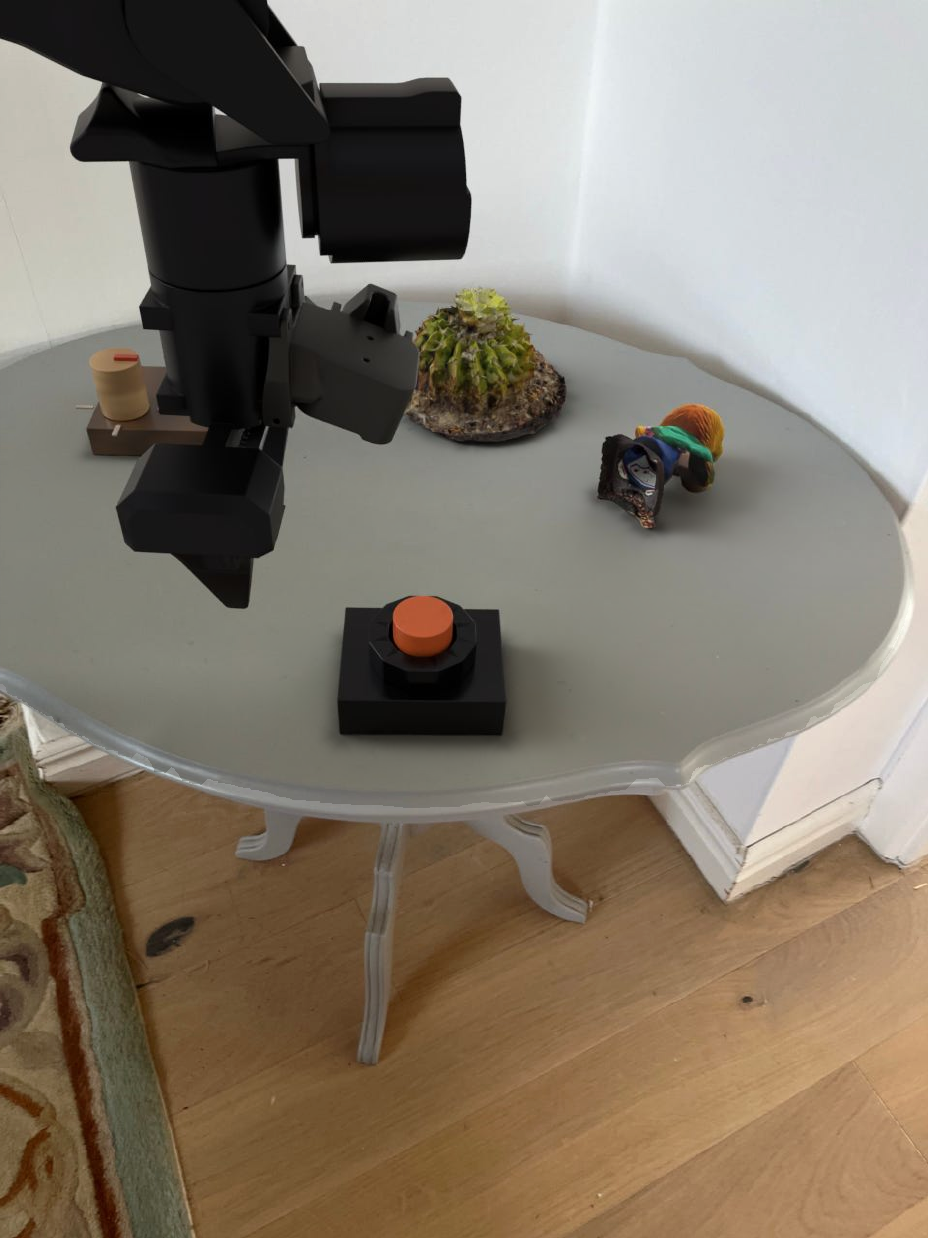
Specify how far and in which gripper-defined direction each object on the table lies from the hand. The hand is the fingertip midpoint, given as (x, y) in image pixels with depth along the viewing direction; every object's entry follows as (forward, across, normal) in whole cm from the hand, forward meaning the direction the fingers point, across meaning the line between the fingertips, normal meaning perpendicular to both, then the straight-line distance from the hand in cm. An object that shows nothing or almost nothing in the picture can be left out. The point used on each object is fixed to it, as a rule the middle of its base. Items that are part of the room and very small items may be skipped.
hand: (254, 547), depth 51 cm
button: (+8, +2, -9) cm, 12 cm away
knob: (+10, +29, +17) cm, 35 cm away
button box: (+13, +2, -9) cm, 16 cm away
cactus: (+13, +38, -12) cm, 42 cm away
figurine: (+13, +25, -27) cm, 39 cm away
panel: (+13, +31, +14) cm, 37 cm away
